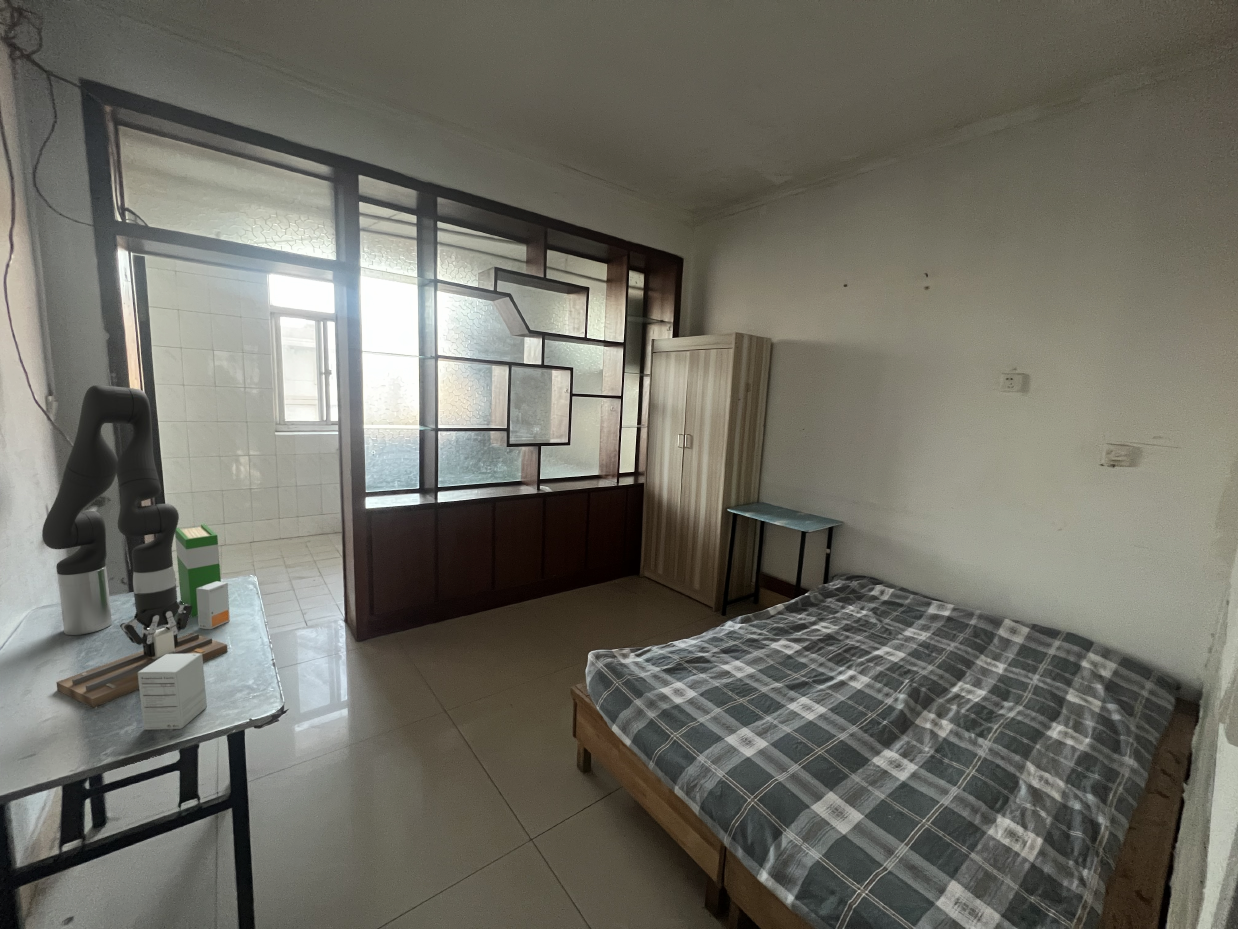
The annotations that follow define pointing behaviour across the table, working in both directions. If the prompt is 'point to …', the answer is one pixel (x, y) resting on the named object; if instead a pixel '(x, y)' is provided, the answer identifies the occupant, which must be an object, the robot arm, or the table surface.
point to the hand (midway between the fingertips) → (161, 652)
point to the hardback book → (196, 562)
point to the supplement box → (172, 691)
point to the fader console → (129, 672)
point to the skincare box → (213, 605)
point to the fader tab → (163, 642)
